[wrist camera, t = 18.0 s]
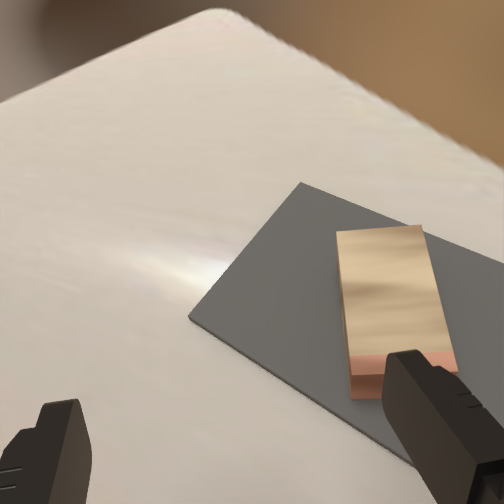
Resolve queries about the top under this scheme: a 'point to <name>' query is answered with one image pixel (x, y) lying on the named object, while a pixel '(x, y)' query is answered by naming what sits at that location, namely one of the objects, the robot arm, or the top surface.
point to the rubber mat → (329, 309)
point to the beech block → (388, 304)
